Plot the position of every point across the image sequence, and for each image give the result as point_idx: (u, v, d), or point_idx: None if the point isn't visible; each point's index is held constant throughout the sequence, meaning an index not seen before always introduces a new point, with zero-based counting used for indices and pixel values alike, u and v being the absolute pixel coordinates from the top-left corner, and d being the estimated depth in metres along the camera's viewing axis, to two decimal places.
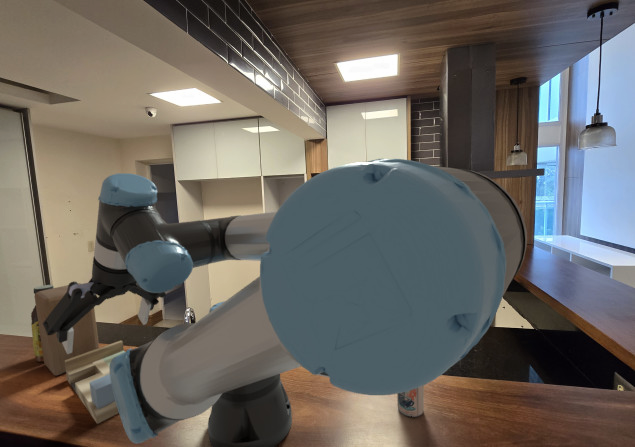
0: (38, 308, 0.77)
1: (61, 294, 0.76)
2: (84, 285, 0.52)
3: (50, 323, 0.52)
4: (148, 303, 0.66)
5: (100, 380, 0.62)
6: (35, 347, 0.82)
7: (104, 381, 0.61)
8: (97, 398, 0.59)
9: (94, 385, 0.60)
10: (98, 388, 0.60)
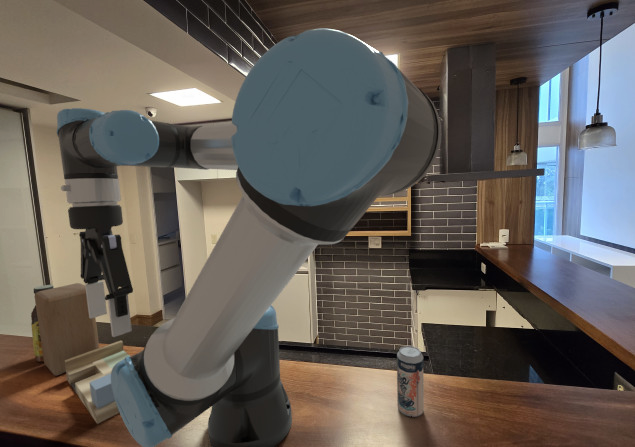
0: (38, 308, 0.77)
1: (61, 294, 0.76)
2: None
3: (124, 282, 0.49)
4: (100, 282, 0.59)
5: (100, 380, 0.62)
6: (35, 347, 0.82)
7: (104, 381, 0.61)
8: (97, 398, 0.59)
9: (94, 385, 0.60)
10: (98, 388, 0.60)
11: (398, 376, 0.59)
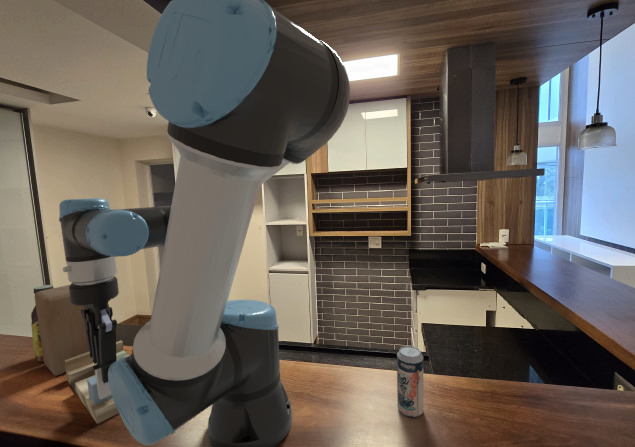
0: (38, 308, 0.77)
1: (61, 294, 0.76)
2: (106, 318, 0.56)
3: (111, 357, 0.58)
4: None
5: None
6: (35, 347, 0.82)
7: None
8: (94, 395, 0.60)
9: (92, 382, 0.61)
10: (95, 384, 0.61)
11: (398, 376, 0.59)
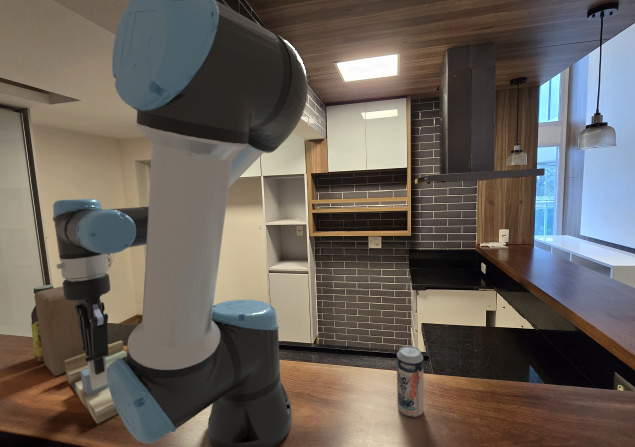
0: (38, 308, 0.77)
1: (61, 294, 0.76)
2: (98, 312, 0.59)
3: (103, 350, 0.61)
4: None
5: None
6: (35, 347, 0.82)
7: None
8: (87, 385, 0.63)
9: (85, 373, 0.65)
10: (88, 376, 0.64)
11: (398, 376, 0.59)
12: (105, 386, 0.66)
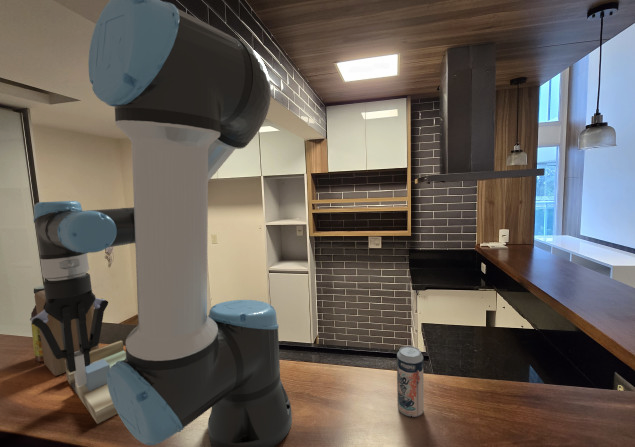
0: (38, 308, 0.77)
1: None
2: None
3: None
4: (74, 353, 0.66)
5: (92, 365, 0.68)
6: (35, 347, 0.82)
7: (96, 366, 0.67)
8: (89, 381, 0.65)
9: (87, 369, 0.66)
10: (90, 371, 0.65)
11: (398, 376, 0.59)
12: (106, 382, 0.67)
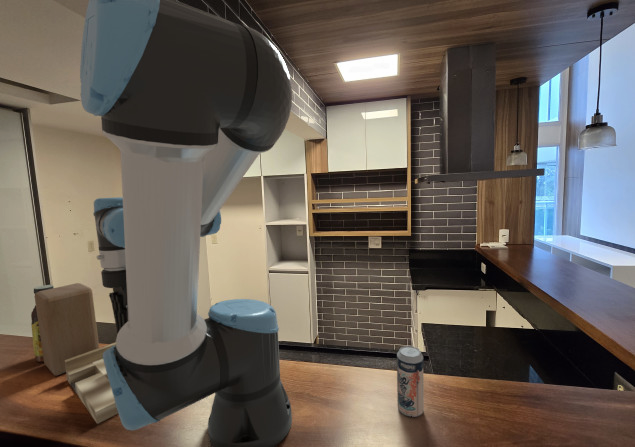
0: (38, 308, 0.77)
1: (61, 294, 0.76)
2: None
3: None
4: None
5: None
6: (35, 347, 0.82)
7: None
8: None
9: None
10: None
11: (398, 376, 0.59)
12: None
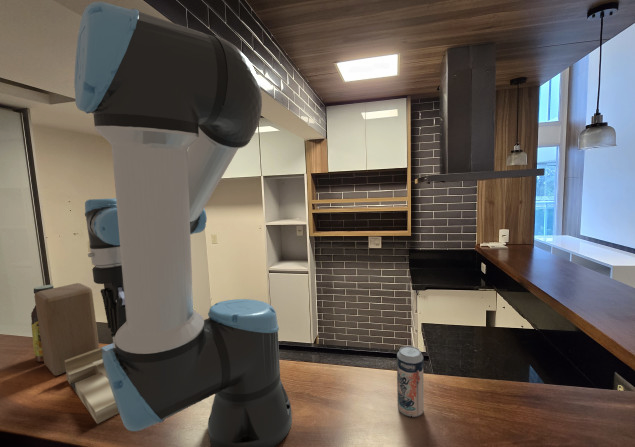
0: (38, 308, 0.77)
1: (61, 294, 0.76)
2: (122, 294, 0.70)
3: None
4: None
5: (110, 346, 0.76)
6: (35, 347, 0.82)
7: (113, 346, 0.76)
8: None
9: (105, 349, 0.75)
10: None
11: (398, 376, 0.59)
12: None
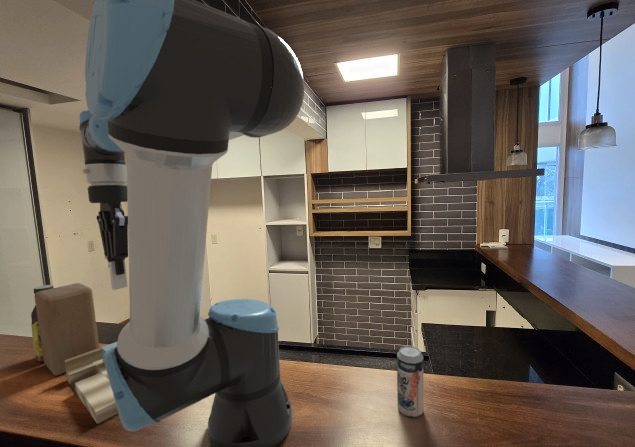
0: (38, 308, 0.77)
1: (61, 294, 0.76)
2: (119, 214, 0.66)
3: (123, 251, 0.68)
4: None
5: (109, 346, 0.76)
6: (35, 347, 0.82)
7: (113, 346, 0.76)
8: None
9: (105, 349, 0.75)
10: None
11: (398, 376, 0.59)
12: None
